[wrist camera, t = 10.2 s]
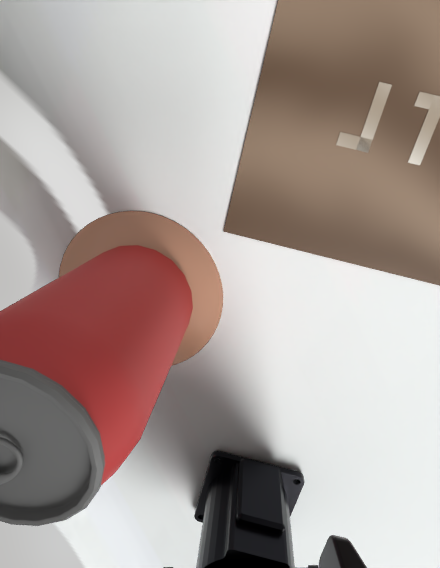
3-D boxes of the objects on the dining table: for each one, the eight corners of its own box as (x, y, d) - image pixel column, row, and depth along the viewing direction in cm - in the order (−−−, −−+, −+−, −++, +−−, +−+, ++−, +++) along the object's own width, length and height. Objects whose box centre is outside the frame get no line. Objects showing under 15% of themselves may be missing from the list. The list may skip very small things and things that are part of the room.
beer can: (66, 298, 21) (-149, 449, 10) (129, 217, 19) (-52, 293, 8) (150, 364, 22) (40, 571, 11) (217, 294, 20) (169, 460, 9)
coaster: (204, 379, 23) (203, 385, 22) (58, 342, 23) (53, 346, 22) (241, 233, 19) (241, 235, 19) (70, 191, 20) (65, 191, 19)
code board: (468, 290, 19) (475, 294, 19) (224, 229, 20) (223, 231, 19) (623, -13, 15) (639, -20, 14) (299, -89, 15) (301, -99, 14)
